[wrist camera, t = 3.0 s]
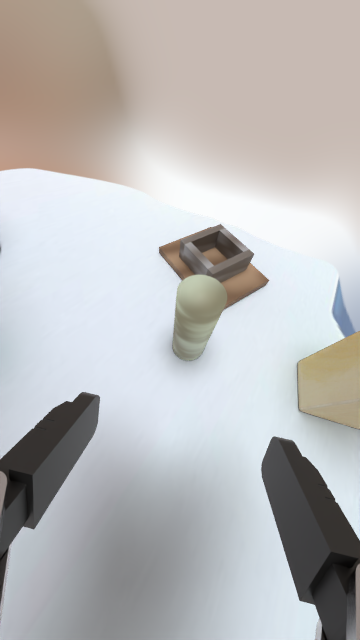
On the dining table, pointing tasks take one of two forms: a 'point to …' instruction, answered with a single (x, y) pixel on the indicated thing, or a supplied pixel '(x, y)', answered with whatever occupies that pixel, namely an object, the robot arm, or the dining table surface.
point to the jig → (216, 261)
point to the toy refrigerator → (332, 382)
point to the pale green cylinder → (196, 314)
